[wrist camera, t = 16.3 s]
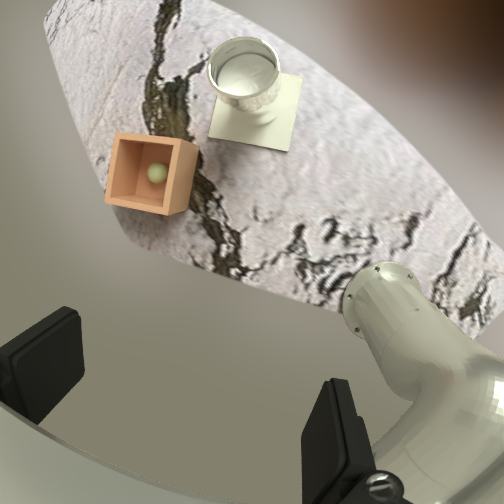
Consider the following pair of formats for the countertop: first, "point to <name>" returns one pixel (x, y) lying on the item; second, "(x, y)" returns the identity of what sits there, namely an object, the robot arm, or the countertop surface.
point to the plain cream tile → (266, 135)
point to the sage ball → (157, 172)
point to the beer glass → (247, 79)
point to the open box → (135, 173)
